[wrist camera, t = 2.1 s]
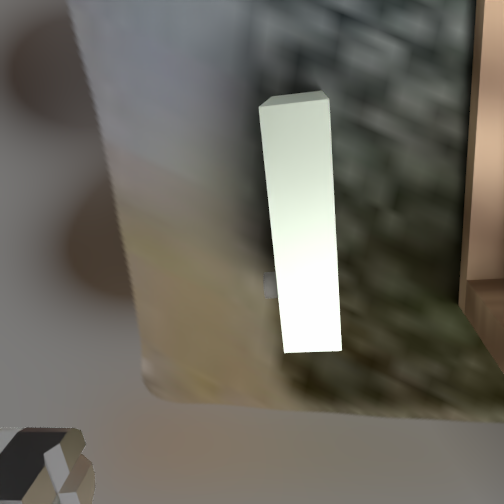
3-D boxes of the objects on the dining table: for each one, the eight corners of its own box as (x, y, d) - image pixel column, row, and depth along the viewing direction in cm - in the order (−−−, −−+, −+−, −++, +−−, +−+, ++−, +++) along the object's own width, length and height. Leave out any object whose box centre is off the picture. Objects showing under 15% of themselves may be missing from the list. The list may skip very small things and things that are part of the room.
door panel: (255, 98, 22) (235, 109, 16) (321, 90, 22) (329, 99, 15) (275, 282, 26) (265, 353, 19) (332, 278, 25) (341, 350, 19)
